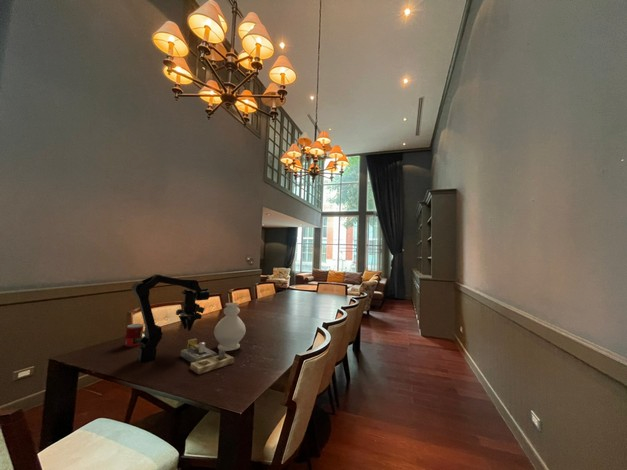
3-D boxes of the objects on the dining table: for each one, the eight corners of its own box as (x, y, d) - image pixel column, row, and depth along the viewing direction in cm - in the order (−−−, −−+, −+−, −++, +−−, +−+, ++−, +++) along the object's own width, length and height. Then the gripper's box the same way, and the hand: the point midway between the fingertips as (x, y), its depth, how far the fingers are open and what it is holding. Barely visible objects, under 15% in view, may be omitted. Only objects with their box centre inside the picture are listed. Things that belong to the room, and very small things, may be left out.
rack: (198, 374, 112) (200, 360, 113) (190, 368, 117) (191, 355, 118) (233, 362, 126) (234, 350, 127) (224, 358, 131) (225, 346, 132)
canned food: (135, 347, 140) (137, 327, 141) (121, 346, 140) (123, 326, 141) (144, 343, 147) (146, 324, 148) (131, 342, 147) (133, 323, 148)
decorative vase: (248, 343, 156) (251, 302, 158) (237, 353, 138) (240, 307, 141) (221, 340, 158) (224, 300, 160) (206, 350, 140) (210, 305, 143)
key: (194, 351, 130) (195, 343, 130) (187, 347, 135) (187, 340, 135) (202, 349, 133) (203, 341, 133) (195, 345, 138) (195, 338, 138)
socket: (195, 365, 121) (196, 355, 122) (180, 356, 131) (181, 346, 132) (216, 359, 130) (217, 349, 130) (200, 350, 140) (201, 341, 140)
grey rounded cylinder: (199, 360, 127) (200, 344, 128) (196, 358, 129) (198, 342, 130) (205, 358, 129) (206, 342, 130) (202, 357, 131) (203, 341, 132)
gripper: (211, 302, 143) (209, 330, 141) (195, 298, 155) (193, 324, 153) (192, 304, 134) (189, 334, 133) (176, 299, 146) (174, 327, 144)
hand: (187, 329), depth 141 cm, fingers open, 4 cm apart
